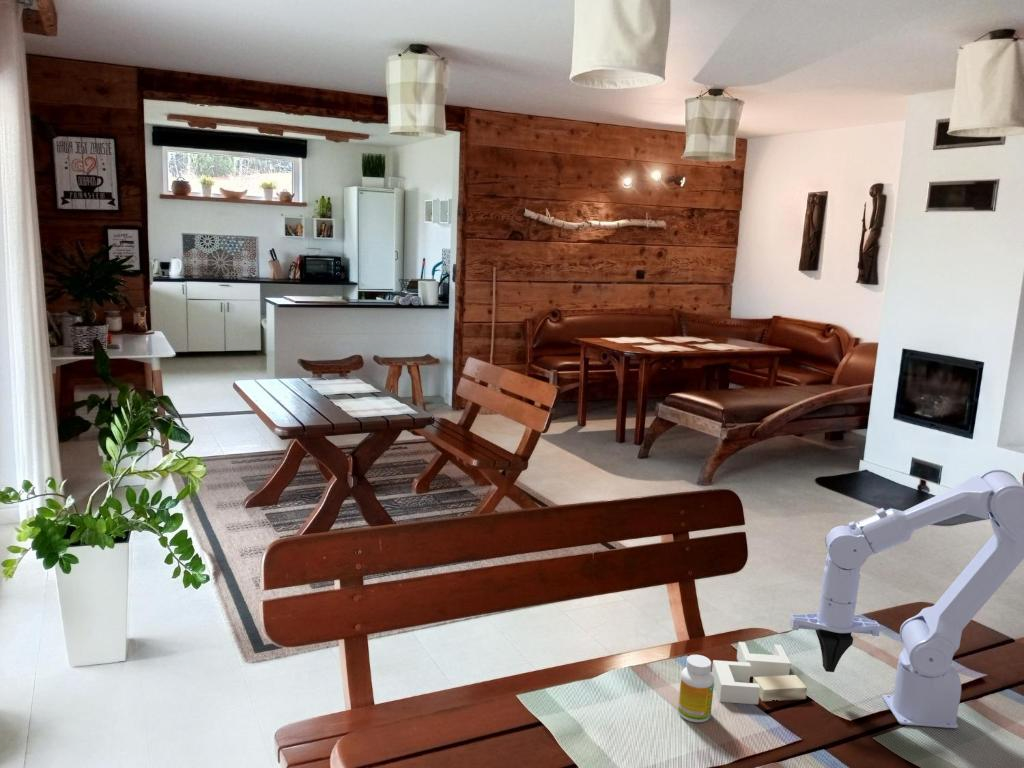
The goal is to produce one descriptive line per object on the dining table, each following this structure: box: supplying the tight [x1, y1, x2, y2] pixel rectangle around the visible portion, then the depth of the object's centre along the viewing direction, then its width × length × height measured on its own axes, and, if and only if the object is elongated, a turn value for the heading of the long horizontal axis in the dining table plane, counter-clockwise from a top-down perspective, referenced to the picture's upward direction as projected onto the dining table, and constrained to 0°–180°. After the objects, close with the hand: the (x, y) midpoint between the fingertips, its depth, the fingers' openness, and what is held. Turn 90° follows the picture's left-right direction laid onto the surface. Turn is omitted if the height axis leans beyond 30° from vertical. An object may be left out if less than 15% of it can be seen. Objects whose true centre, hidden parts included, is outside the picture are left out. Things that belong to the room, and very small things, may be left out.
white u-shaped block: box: [736, 641, 791, 678], centre depth 149 cm, size 6×8×3 cm
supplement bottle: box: [677, 654, 715, 723], centre depth 134 cm, size 5×5×10 cm
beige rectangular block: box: [752, 674, 808, 702], centre depth 142 cm, size 8×4×2 cm, turn 99°
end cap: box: [711, 659, 760, 705], centre depth 142 cm, size 6×8×3 cm
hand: (828, 668), depth 140 cm, fingers closed
